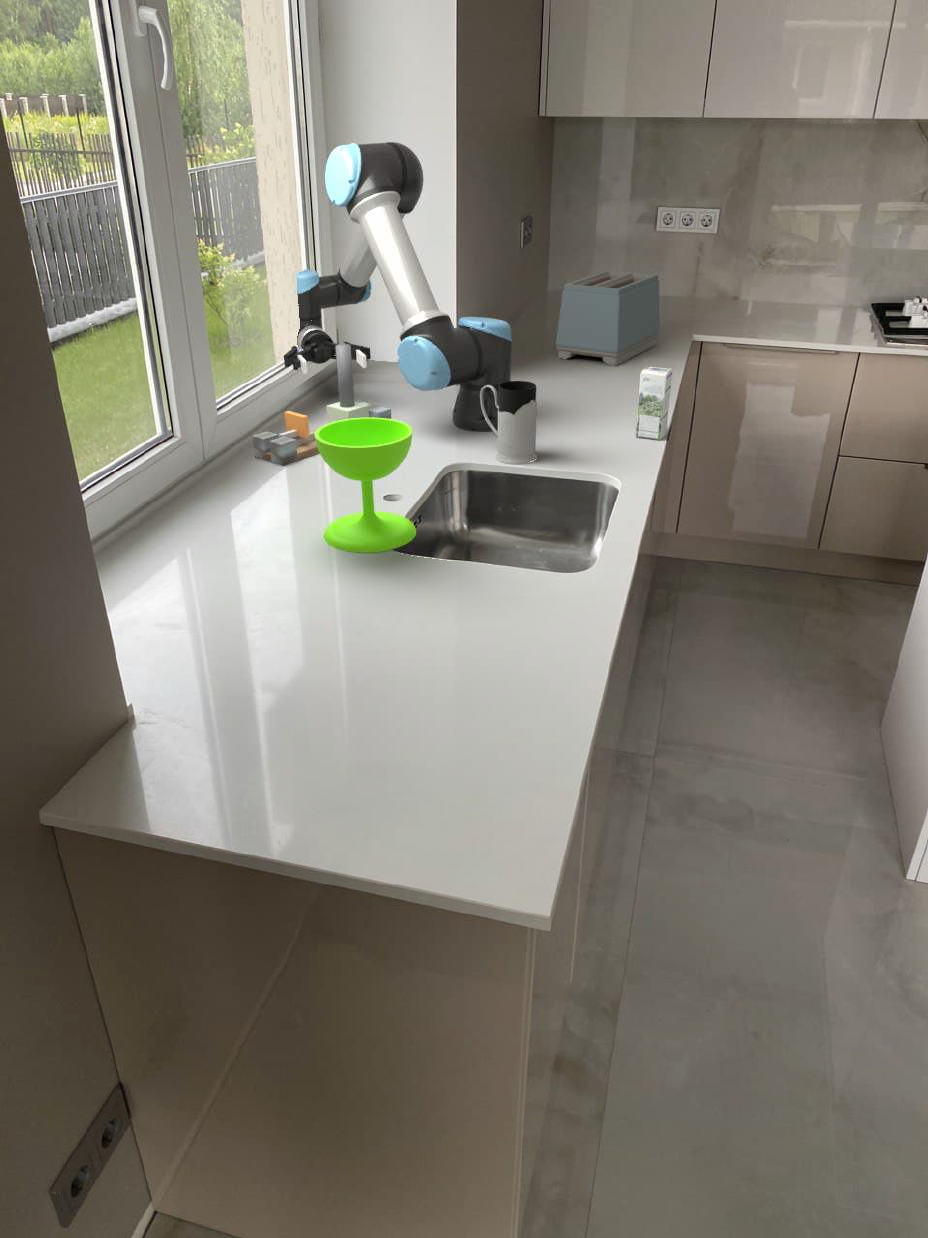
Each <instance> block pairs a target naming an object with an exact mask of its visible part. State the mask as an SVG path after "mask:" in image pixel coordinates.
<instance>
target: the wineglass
mask: <svg viewBox="0 0 928 1238" xmlns="http://www.w3.org/2000/svg"><path fill="white" fill-rule="evenodd" d="M315 430H316V429H315ZM314 435H315V440H316V444H317V448H318V450H319V452H320V453H319V454H320V456H321V457H322V459H323V462H324V463H326V465H328V467H330V469H331V470H333V471H334V472H335V473H337V474H338V475H341V476H342V477H344V478H345V479H349V480H353V481H357V482H358V481H359V482H360V484H361V500H362V501H361V502H362V511H361V512H355V513H351V514H347V515H344V516H341V517H339V518H337V519H335V520H333V521H331V523H329V524H328V526H326V528H325V530H324V534H323V539H324V541H325V543H326V544H328V545H329V546H331V547H332V548H334V549H338V550H340V551H345V552H351V553H364V554H365V553H367V554H368V553H377V552H378V553H379V552H386V551H390V550H396V549H398V548H400V547H402V546H405V545H407V544H408V543H410V542H411V541H413V540H414V538H415V537H416V536H417V528H416V527H415V525H414V523H413V522H412V521H411V520H409V519H408V518H407V517H405V516H403V515H400V514H397V513H391V512H388V511H387V512H386V511H375V500H374V483H373V482H374V481H375V480H380V479H383V478H385V477H387V476H389V475H390V474H392V473H393V472H394V471H396V470H397V469H398V468H399V467H400V466H401V465H402V463H403V462H404V460H405V459H406V458H407V456H408V454H409V451H410V448H411V446H412V438H413V428H412V426H411V425H409V424H407V423H406V422H403V421H401V420H397V419H393V418H391V419H387V418H352V419H345V420H340V421H333V422H329V423H326V424H324V425H322V426H320V427H318V428H317V430H316V432H315V434H314Z"/></svg>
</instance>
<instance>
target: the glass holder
mask: <svg viewBox="0 0 928 1238" xmlns="http://www.w3.org/2000/svg"><path fill="white" fill-rule="evenodd" d="M486 387H489V388H491V389H492V391H493V392H494V395H495V405H496V407H497V408H498V409H499V410H498V430H496V429H495V428H494V426H493V425H492V424H491V422H490V420H489V419H488V416H487V414H486V411H485V408H484V402H483V391H484V389H485V388H486ZM480 403H481V408H482V412H483V415H484V417H485V420H486V421H487V423H488V425H489V426H490V427H491V429H492V430H493V431H492V432H493V433H494V435H495V436H496V437H497V450H496V451H497V452H496V454H495V457H496V458H495V460H496V459H497V460H496V461H497V462H499V461H500V463H502V464H505V465H506V464H508V465H525V464H524V463H528V462H530V461H533V460H535V459H536V458H537V457H538V454H537V451H536V450H537V449H536V448H537V447H536V446H537V445H536V443H537V439H536V438H537V411H538V410H537V405H538V404H537V385H536V383H533V382H530V381H526V380H525V381H524V380H511V381H509V382H504V383H501V384H500V385H499V404H498V394H497V391H496V389H495V388H494V387H493V386H491V385H486V386H484V387H483V388H482V389H481V392H480ZM537 459H538V458H537ZM528 464H529V463H528Z"/></svg>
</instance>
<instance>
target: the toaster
mask: <svg viewBox="0 0 928 1238" xmlns="http://www.w3.org/2000/svg"><path fill="white" fill-rule="evenodd" d="M659 334H660V280H659V274H657V273H656V274H655V273H644V272H635V271H634V272H631V271H620V270H609V269H608V270H604V271H600V272H597V273H594V274H592V275H589V276H585V277H583V278H580V279H577V280H574V281H571V282H567V283H565V284H564V285H563V290H562V294H561V302H560V310H559V317H558V324H557V333H556V340H555V345H556V350H557V351H558V354H557V355H558V356H559V357H564V358H570V359H571V357H572V358H574V357H575V355H576V356H578V355H580V356H588V357H595V358H601V359H602V361H603V363H604V364H606V365H607V366H608V365H613V366H612V367H617V366H618V364H619V365H620V364H622V363H624V362H627V361H628V360H629V359H632V358H633V356H634V357H636V356H637V354H638V355H640V354H641V352H642V353H643V352H646V351H647V350H649V349H651V348H653V347H655V346H656V345H657V344H656V343H657V338H659ZM654 345H655V346H654ZM652 346H653V347H652ZM577 354H578V355H577ZM635 355H636V356H635ZM573 356H574V357H573ZM559 357H558V358H559ZM631 357H632V358H631ZM616 365H617V366H616Z"/></svg>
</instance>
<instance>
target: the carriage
mask: <svg viewBox="0 0 928 1238" xmlns="http://www.w3.org/2000/svg"><path fill="white" fill-rule="evenodd" d="M338 344H339V345H336V355H335V356H336V359H335V360H336V370H337V383H338V397H339V401H338V402H335V403H332V404H327V405H326V406H325V407H326V417H327V420H329V421H333V422H336V421H340V420H345V419H352V418H369V410H368V405H365V404H361V402H357V401H356V402H355V394H354V393H355V392H354V375H353V364H352V363H353V361H352V359H351V345H349V344H343V343H338Z"/></svg>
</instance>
